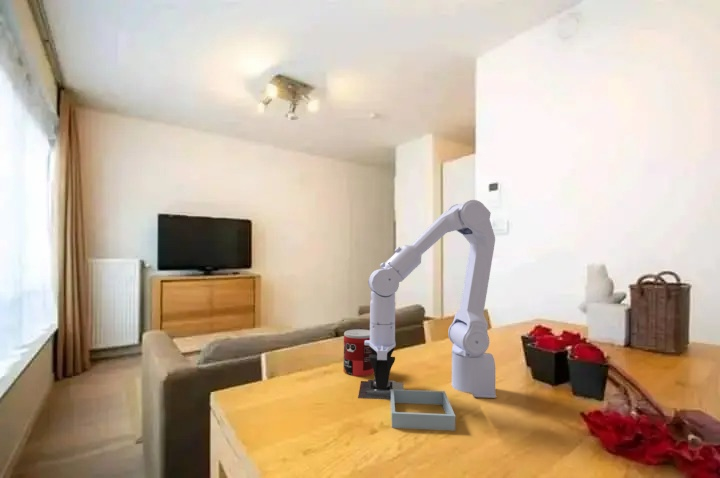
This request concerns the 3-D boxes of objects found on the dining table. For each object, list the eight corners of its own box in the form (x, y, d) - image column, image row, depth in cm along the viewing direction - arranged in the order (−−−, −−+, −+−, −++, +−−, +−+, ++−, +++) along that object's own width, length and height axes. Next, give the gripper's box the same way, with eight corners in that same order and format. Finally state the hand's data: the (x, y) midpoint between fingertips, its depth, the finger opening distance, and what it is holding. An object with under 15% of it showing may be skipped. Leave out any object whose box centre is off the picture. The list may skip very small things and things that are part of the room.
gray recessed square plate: (402, 386, 87) (402, 378, 87) (405, 404, 77) (405, 395, 77) (360, 385, 88) (360, 376, 88) (357, 402, 78) (358, 393, 78)
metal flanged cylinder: (389, 386, 84) (390, 356, 84) (390, 393, 80) (390, 361, 81) (373, 386, 84) (373, 355, 85) (372, 392, 81) (373, 361, 81)
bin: (444, 408, 76) (444, 391, 76) (455, 436, 64) (455, 416, 65) (390, 406, 76) (390, 389, 76) (391, 433, 65) (391, 413, 65)
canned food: (342, 370, 98) (343, 329, 98) (372, 369, 99) (372, 329, 99) (343, 380, 91) (344, 336, 91) (375, 380, 91) (376, 335, 92)
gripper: (366, 315, 90) (365, 371, 90) (363, 328, 76) (362, 394, 75) (395, 316, 90) (394, 372, 89) (397, 329, 75) (396, 396, 75)
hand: (381, 382), depth 82 cm, fingers open, 6 cm apart
